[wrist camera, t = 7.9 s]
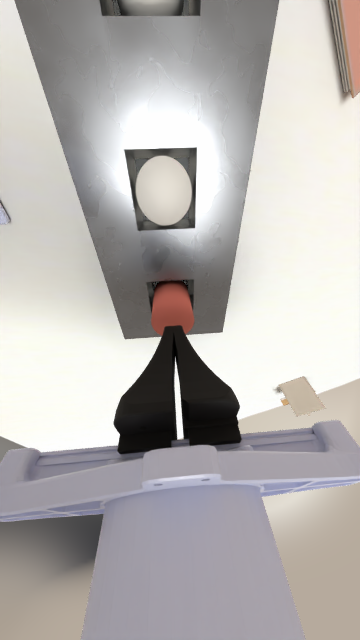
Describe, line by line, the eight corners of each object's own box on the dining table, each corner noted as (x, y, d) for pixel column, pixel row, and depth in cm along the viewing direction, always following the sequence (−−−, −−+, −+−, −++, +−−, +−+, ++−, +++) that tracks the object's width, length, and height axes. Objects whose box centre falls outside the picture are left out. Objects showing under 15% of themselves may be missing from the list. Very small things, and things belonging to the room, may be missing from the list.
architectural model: (304, 380, 41) (328, 413, 35) (275, 390, 43) (293, 423, 37) (302, 374, 39) (326, 407, 33) (272, 384, 41) (290, 418, 35)
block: (131, 314, 25) (124, 339, 21) (-9, -222, 7) (-220, -719, 3) (213, 309, 25) (222, 332, 21) (271, -209, 8) (386, -629, 4)
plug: (146, 216, 17) (141, 226, 13) (139, 164, 14) (130, 156, 10) (185, 215, 17) (191, 224, 13) (184, 162, 14) (192, 154, 11)
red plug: (156, 308, 20) (154, 338, 16) (151, 278, 18) (148, 305, 14) (188, 306, 20) (193, 336, 16) (188, 276, 18) (194, 302, 14)
